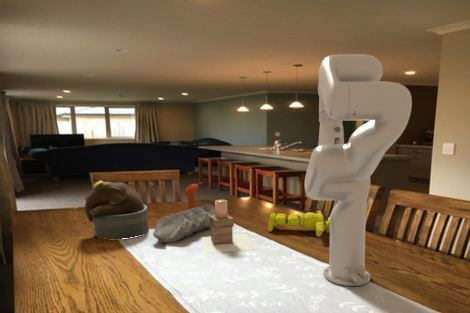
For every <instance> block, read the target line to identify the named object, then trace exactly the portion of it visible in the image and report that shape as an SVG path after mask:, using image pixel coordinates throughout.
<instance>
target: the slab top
mask: <svg viewBox="0 0 470 313" xmlns="http://www.w3.org/2000/svg"><path fill="white" fill-rule="evenodd" d="M234 219H235V218H234V217H232V216H231V215H229V214H227V218H224V219H218V218H215V215H213V216H209V224H210V225H211V226H212V227H214V228H215V229H218V228H226V227H232V228H233V227H234V226H235V222H234V221H235V220H234Z"/></svg>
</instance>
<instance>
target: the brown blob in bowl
mask: <svg viewBox="0 0 470 313" xmlns="http://www.w3.org/2000/svg"><path fill="white" fill-rule="evenodd" d="M84 210H85V214H86V216H87V219H88V221H89V223H94V234H95V237H96V236H98V237H100V238H106V239H122V238H130V237H135V236H139V235H143V234H144V235H146V234H148V233H147V232H149V231H150V229H149V228H150V227H149V216H148V206H147V205H146V204H145V203H144V201H143V199H142V197H141V195H140V194H139V193H138V192H137V191H136V190H135V189H134V188H133V187H132V186H130V185H128V184H126V183H124V182H111V181H103V180H98V181H97V182H95V183H94V185H92V189H91V191H89V194H88V196H87V197H86V202H85V204H84ZM145 233H146V234H145ZM144 235H143V236H144ZM98 237H97V238H98ZM139 237H140V236H139ZM100 238H99V239H100Z"/></svg>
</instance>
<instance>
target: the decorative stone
mask: <svg viewBox="0 0 470 313" xmlns="http://www.w3.org/2000/svg"><path fill="white" fill-rule="evenodd" d="M187 209H188V208H187ZM187 209H186V210H182V211H179V212H176V213H172V214H171V213H170V214H168V215H165V216H164V217H161V219H159V220H158V221H157V222H156V223H155V227H154V231H152V232H153V233H152V236H153V237H154V238H155V239H157V240H158V242H160V243H164V244H166V243H177V242H178V241H180V240H182V238H188V237H190V236H191V235H192V234H193V233H197V232H202V231H203V230H206V229H207V230H208V229H211V225H210V224H209V216H213V215H215V205H214V206H213V204H203V205H201V206H200V205H199V206H198V207H195V208H192V209H188V210H187Z"/></svg>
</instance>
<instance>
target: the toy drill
mask: <svg viewBox="0 0 470 313" xmlns="http://www.w3.org/2000/svg"><path fill="white" fill-rule="evenodd" d="M202 184H203V181H201V182H199V183H198V182H197V183H192V184H188V186H187V187H186V188H185V191H184V194H185V197H187V209H186V210H188V209H192V208H196V207H195V206H196V203H195V197H194V196H195V195H196V194H197V192H198V190H199V188H200V187H201V185H202Z"/></svg>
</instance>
